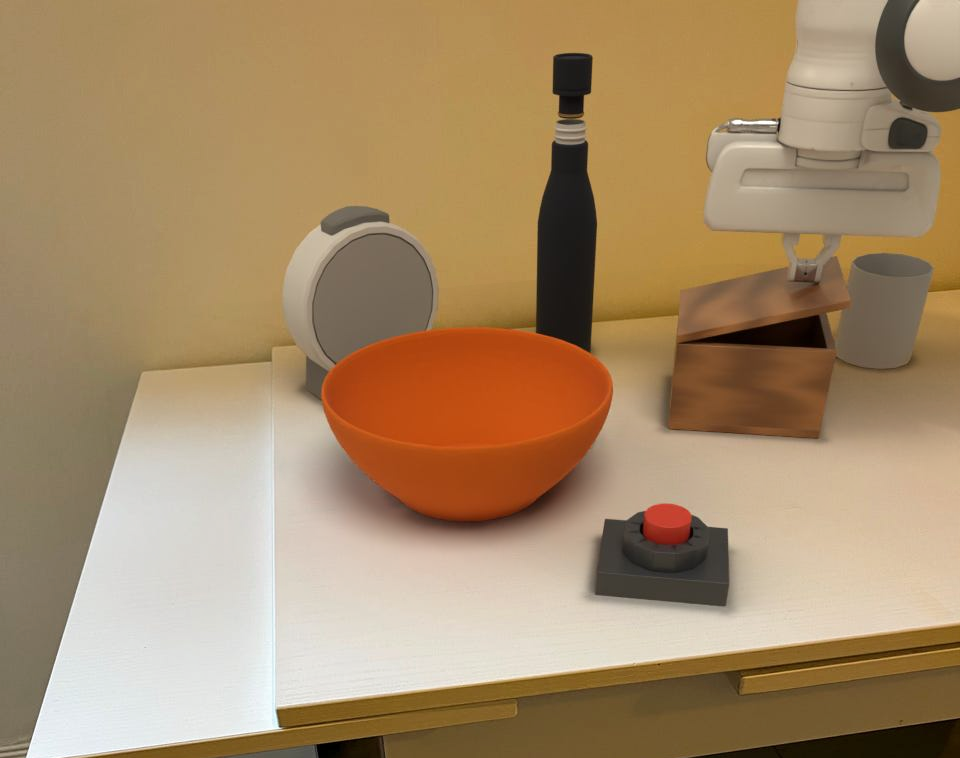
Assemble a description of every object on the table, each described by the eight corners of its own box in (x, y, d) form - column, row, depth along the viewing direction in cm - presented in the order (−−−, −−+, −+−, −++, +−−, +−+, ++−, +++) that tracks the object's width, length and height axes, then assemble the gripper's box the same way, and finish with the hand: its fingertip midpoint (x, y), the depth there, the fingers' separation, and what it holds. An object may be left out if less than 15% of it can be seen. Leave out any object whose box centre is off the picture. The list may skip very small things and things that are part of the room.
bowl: (305, 449, 98) (291, 350, 91) (539, 405, 104) (541, 311, 98) (377, 584, 79) (366, 473, 73) (656, 521, 86) (667, 414, 80)
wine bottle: (524, 352, 116) (526, 56, 97) (560, 336, 119) (569, 48, 101) (565, 367, 112) (576, 63, 93) (601, 350, 116) (619, 54, 97)
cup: (899, 374, 109) (923, 282, 103) (824, 360, 112) (843, 270, 106) (917, 348, 114) (940, 259, 108) (845, 335, 118) (864, 248, 112)
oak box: (808, 385, 107) (824, 304, 102) (818, 438, 97) (836, 352, 92) (671, 377, 109) (680, 298, 104) (668, 428, 100) (677, 344, 94)
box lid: (837, 263, 99) (837, 255, 99) (851, 308, 89) (850, 299, 89) (681, 297, 104) (680, 290, 103) (678, 343, 94) (677, 335, 94)
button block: (724, 550, 82) (731, 508, 80) (725, 607, 76) (732, 563, 73) (603, 540, 84) (606, 499, 81) (594, 595, 77) (597, 552, 75)
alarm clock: (407, 352, 116) (396, 185, 105) (456, 380, 110) (450, 206, 98) (282, 387, 109) (257, 213, 98) (327, 420, 102) (305, 237, 91)
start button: (689, 524, 79) (692, 504, 78) (688, 548, 76) (691, 529, 75) (643, 520, 79) (645, 501, 78) (641, 544, 76) (643, 525, 75)
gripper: (710, 125, 85) (691, 287, 94) (962, 129, 82) (919, 296, 91) (710, 110, 90) (692, 265, 99) (947, 114, 87) (908, 273, 95)
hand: (803, 280), depth 95 cm, fingers closed
